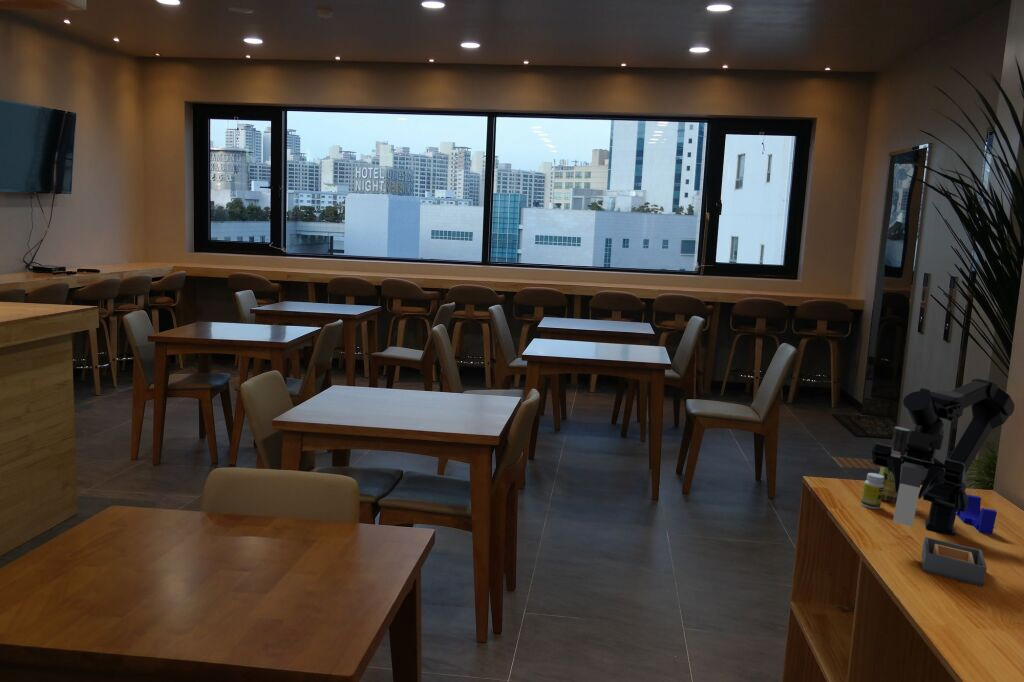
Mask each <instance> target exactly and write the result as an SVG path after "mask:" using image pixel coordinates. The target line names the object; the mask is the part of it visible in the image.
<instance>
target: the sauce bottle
mask: <svg viewBox="0 0 1024 682" xmlns="http://www.w3.org/2000/svg"><path fill="white" fill-rule="evenodd" d="M909 431H911V429H909V428H906V427H901V426H894V428H893V430H892V432H893V434H892V439H891V443H890V444H888V445H889V446H893V451H897V452H900V453H902V454H903V455H905V454H906V452H905V446H906V441H907V437H908V434H909ZM903 465H904V464H902V470H903ZM879 469H880V470H879V472H878V474H880V475H882V476H884V481H883V484H884V490H883V495H882V500H881V501H884V502H889V503H896V502H897V496H898V493H896V492H895V480H894V476H893V472H891V471H889V470H888V467H887V468H886V467H882V466H880V468H879ZM898 491H899V490H898Z"/></svg>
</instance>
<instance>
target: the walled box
mask: <svg viewBox="0 0 1024 682" xmlns="http://www.w3.org/2000/svg"><path fill="white" fill-rule="evenodd" d="M922 545H923V546H922V548H921V553H922V554H921V564H922V565H923V566H922V572H924V571H925V572H924V573H928V572H929V574H932V573H933V575H936V574H937V575H936V576H940V575H941V577H945V578H949V579H952V580H957V581H961V582H965V583H968V584H973V585H977V586H980V587H984V582H985V577H986V574H987V568H988V567H987V564H986V561H985V560H986V559H985V558H984V553H983V551H982V549H979V548H978V549H977V548H975V547H970V546H965V545H961V544H958V543H952V542H948V541H943V540H939V539H935V538H931V537H928V536H924V539H923V544H922Z"/></svg>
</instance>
